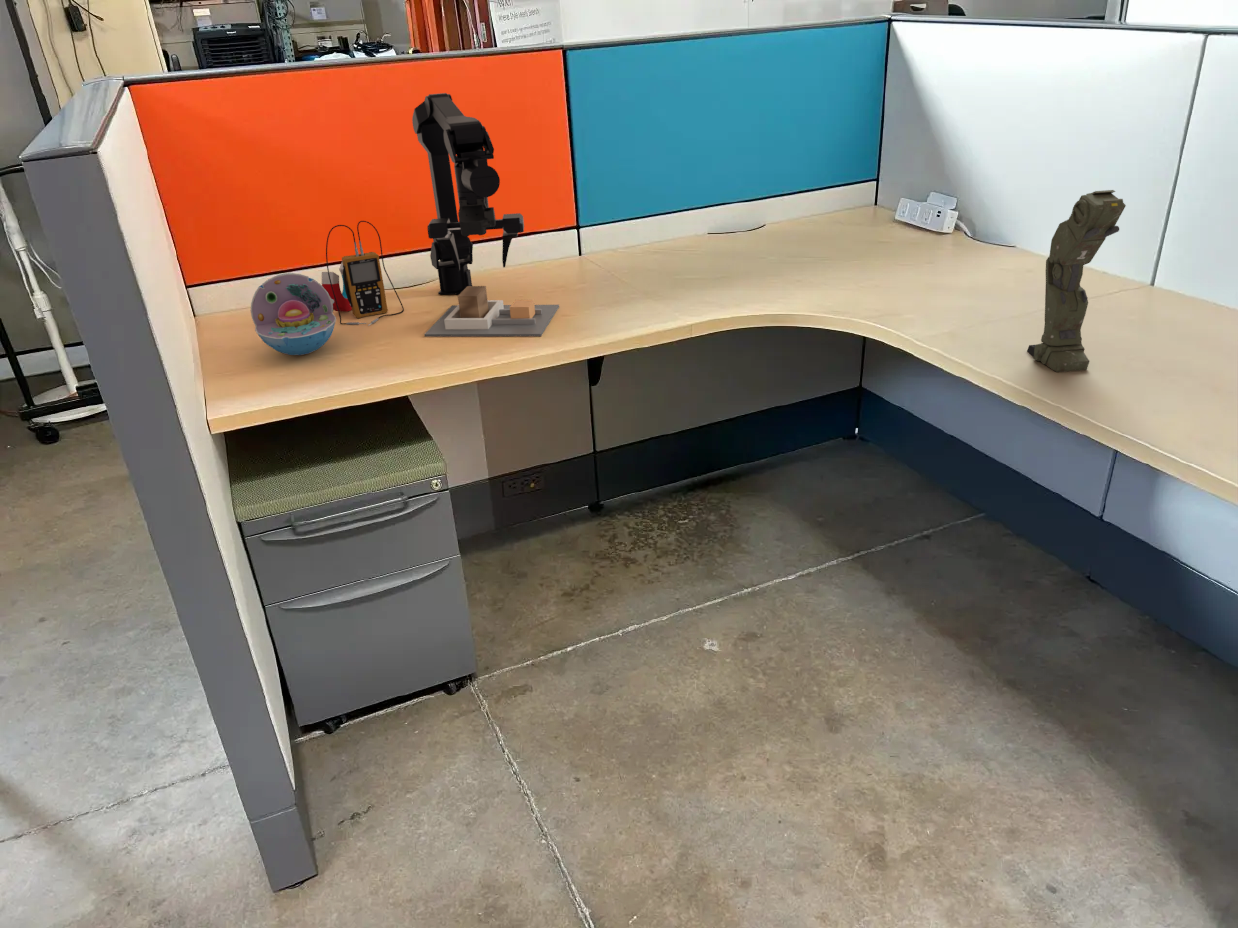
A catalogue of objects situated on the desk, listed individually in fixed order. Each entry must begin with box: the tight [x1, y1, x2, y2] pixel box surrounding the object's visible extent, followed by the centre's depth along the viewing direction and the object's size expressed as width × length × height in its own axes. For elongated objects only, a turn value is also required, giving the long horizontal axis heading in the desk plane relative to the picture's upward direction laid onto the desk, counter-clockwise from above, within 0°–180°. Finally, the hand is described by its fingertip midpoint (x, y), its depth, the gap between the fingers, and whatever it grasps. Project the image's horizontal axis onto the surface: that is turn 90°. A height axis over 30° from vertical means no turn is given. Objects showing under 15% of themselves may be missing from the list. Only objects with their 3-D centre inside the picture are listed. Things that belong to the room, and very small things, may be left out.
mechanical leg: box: [1026, 189, 1127, 373], centre depth 145 cm, size 14×7×30 cm, turn 5°
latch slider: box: [510, 299, 536, 318], centre depth 184 cm, size 4×5×3 cm
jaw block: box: [457, 285, 489, 318], centre depth 185 cm, size 4×7×6 cm, turn 173°
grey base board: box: [424, 299, 560, 338], centre depth 186 cm, size 24×19×2 cm
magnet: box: [321, 261, 352, 313], centre depth 196 cm, size 12×3×10 cm, turn 169°
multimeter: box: [325, 220, 405, 327], centre depth 187 cm, size 15×10×20 cm
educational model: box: [250, 272, 337, 356], centre depth 172 cm, size 16×19×15 cm
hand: (481, 268), depth 181 cm, fingers open, 9 cm apart
